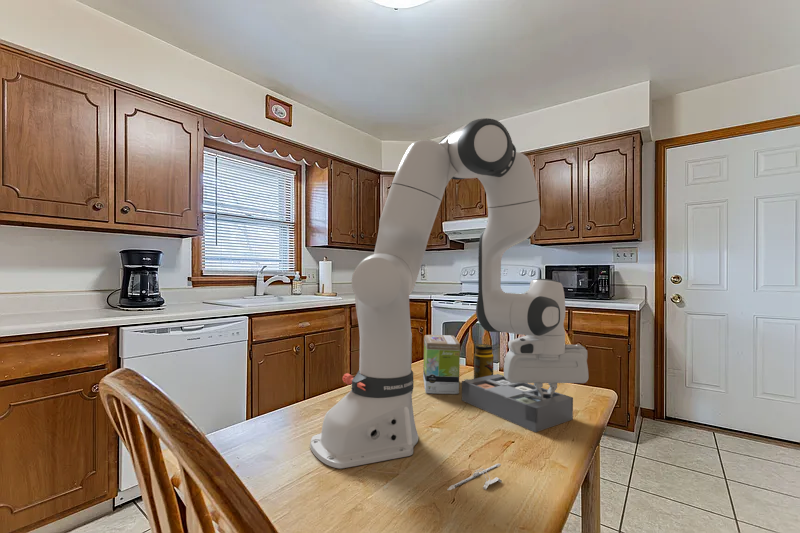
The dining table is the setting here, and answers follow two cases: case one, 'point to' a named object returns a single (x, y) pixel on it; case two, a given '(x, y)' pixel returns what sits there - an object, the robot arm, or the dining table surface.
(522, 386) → the key cream
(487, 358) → the condiment
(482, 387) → the key terracotta
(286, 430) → the dining table surface
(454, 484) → the picture light
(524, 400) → the key sage
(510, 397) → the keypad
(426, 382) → the tea box
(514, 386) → the key grey
